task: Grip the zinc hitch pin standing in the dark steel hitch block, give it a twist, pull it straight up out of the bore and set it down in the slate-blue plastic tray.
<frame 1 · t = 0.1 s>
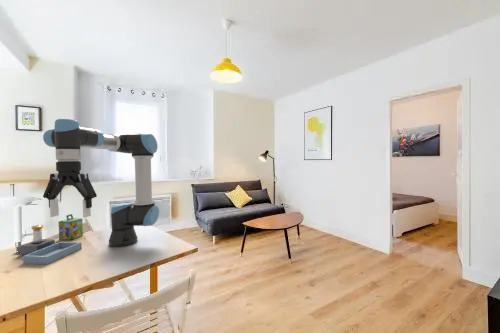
hand: (70, 216, 90), 28 cm above the table, fingers open, 13 cm apart
tray: (54, 255, 124), on the table
green lunch box: (71, 237, 152), on the table
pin: (37, 238, 129), in the hitch block
hitch block: (38, 251, 129), on the table
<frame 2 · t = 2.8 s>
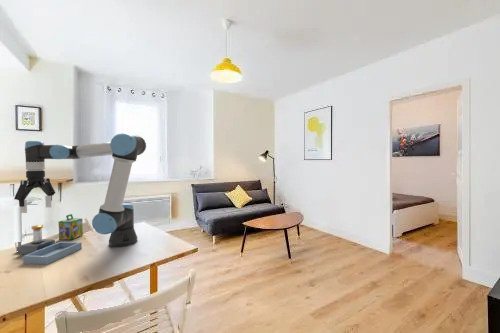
hand: (36, 209, 127), 23 cm above the table, fingers open, 13 cm apart
nothing on the table moved.
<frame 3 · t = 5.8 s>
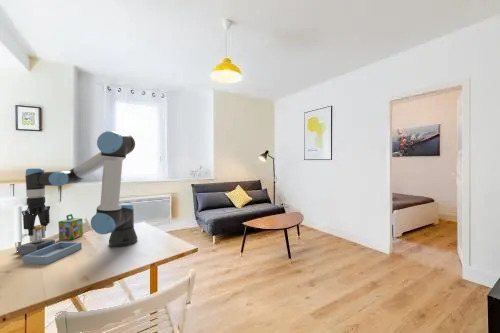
hand: (37, 239, 129), 7 cm above the table, fingers closed on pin, 5 cm apart
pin: (37, 238, 129), in the hitch block, touching gripper
everything else where it was.
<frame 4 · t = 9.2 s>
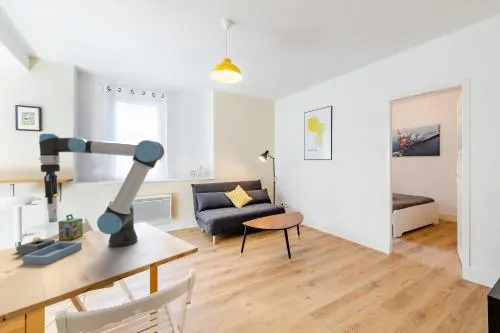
hand: (52, 208, 123), 24 cm above the table, fingers closed on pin, 5 cm apart
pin: (52, 208, 123), point 25 cm above the table, touching gripper
everything else where it was.
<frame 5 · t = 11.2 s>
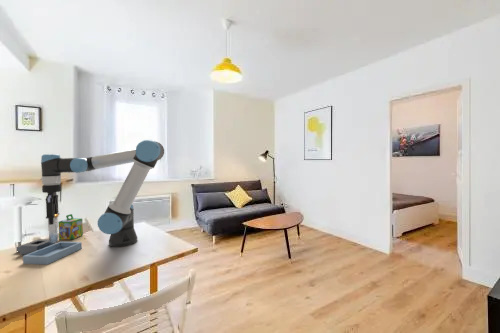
hand: (53, 229, 123), 14 cm above the table, fingers closed on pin, 5 cm apart
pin: (53, 228, 123), point 14 cm above the table, touching gripper
everything else where it was.
when the fingers open (9 cm above the table, at t = 12.9 s): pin drops 1 cm, resting on tray.
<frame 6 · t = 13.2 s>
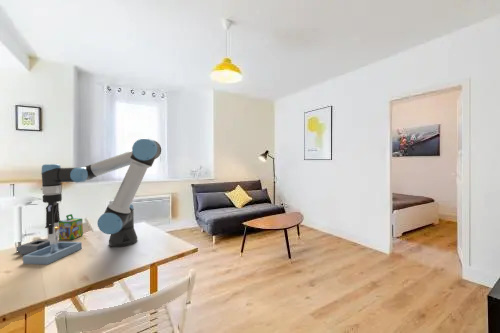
hand: (53, 237, 123), 10 cm above the table, fingers open, 8 cm apart
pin: (54, 240, 123), in the tray, point 8 cm above the table
everything else where it was.
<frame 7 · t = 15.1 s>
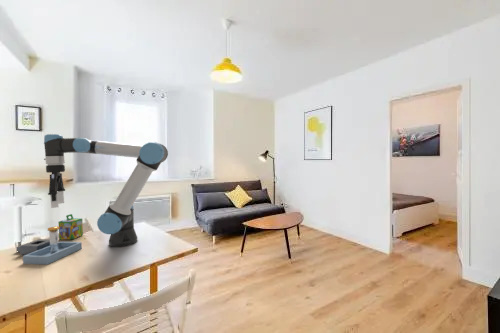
hand: (58, 205, 123), 26 cm above the table, fingers open, 13 cm apart
nothing on the table moved.
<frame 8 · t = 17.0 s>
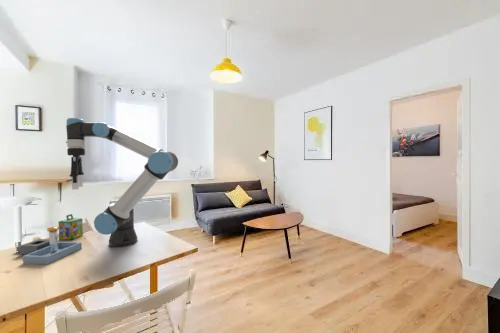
hand: (77, 188, 126), 35 cm above the table, fingers open, 13 cm apart
nothing on the table moved.
at the end: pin inside the target area on the tray (0.0 cm from its centre), point 7.6 cm above the tray's base; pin touching tray; the gripper is holding nothing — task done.
